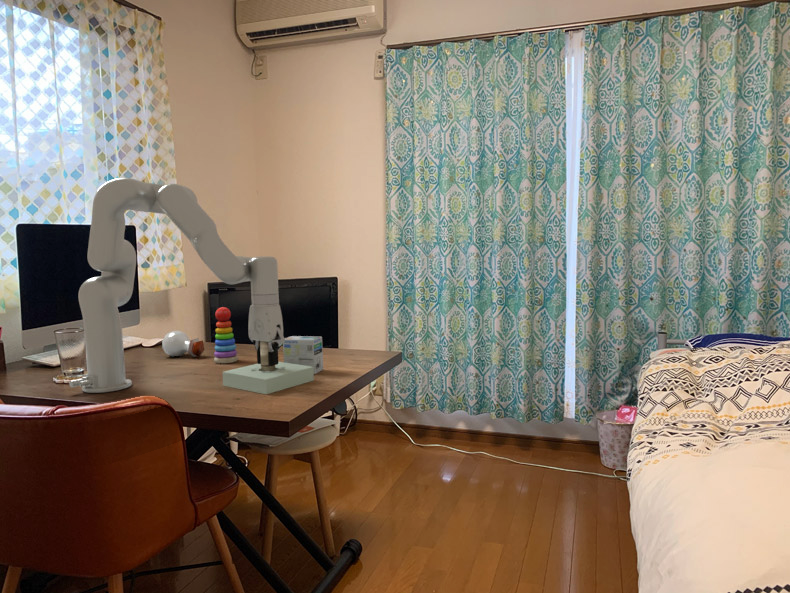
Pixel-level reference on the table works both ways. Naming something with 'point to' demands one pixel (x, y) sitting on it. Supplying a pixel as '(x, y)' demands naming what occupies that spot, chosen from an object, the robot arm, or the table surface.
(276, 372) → the board
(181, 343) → the potion bottle
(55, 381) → the table surface
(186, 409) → the table surface
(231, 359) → the stacking toy
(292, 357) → the light bulb box
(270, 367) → the peg
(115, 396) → the table surface
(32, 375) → the table surface
